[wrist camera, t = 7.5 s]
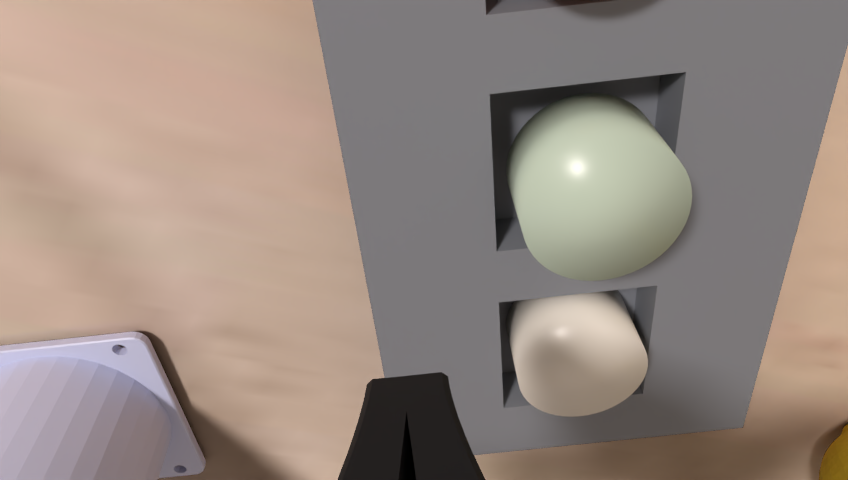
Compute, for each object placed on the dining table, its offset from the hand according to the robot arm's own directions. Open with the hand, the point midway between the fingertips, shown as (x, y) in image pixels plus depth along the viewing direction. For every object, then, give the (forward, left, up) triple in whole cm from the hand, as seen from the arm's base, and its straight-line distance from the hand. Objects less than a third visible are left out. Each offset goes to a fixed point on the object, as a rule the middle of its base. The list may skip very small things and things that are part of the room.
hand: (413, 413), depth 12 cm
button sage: (+5, 0, -8) cm, 10 cm away
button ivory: (+5, -7, -10) cm, 13 cm away
